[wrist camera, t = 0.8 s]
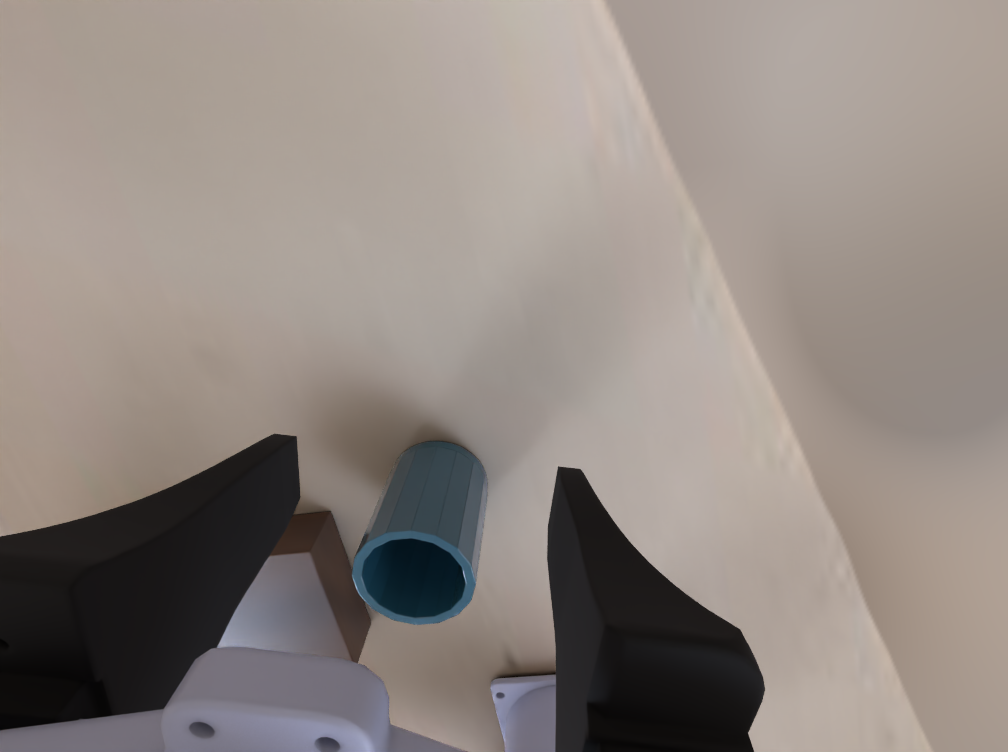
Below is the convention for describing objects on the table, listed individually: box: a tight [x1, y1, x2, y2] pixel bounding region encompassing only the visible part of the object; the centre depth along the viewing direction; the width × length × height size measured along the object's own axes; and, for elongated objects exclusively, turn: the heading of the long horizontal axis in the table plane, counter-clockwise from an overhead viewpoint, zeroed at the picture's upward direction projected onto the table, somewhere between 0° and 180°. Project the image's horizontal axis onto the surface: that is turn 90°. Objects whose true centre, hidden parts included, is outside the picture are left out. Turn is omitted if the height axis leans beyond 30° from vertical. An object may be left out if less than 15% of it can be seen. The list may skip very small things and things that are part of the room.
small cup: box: [352, 441, 488, 625], centre depth 24 cm, size 5×5×6 cm
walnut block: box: [217, 511, 371, 663], centre depth 29 cm, size 8×8×3 cm
